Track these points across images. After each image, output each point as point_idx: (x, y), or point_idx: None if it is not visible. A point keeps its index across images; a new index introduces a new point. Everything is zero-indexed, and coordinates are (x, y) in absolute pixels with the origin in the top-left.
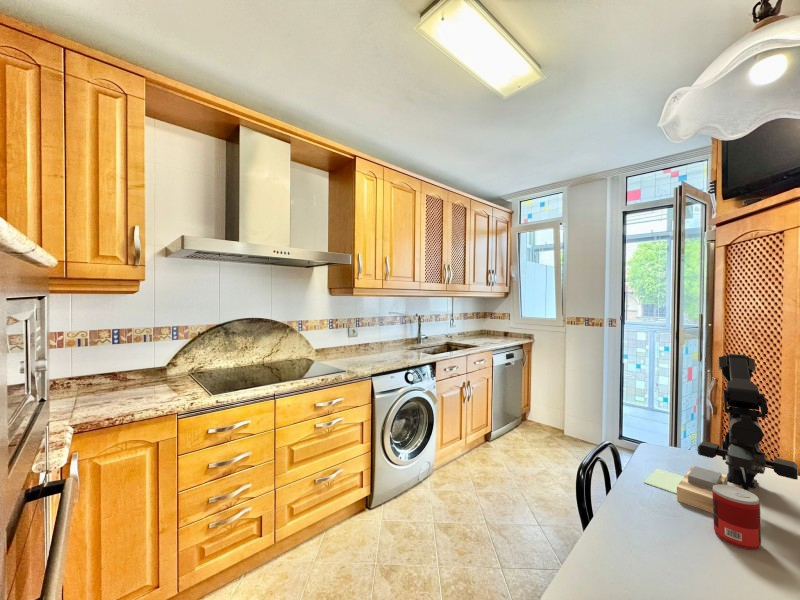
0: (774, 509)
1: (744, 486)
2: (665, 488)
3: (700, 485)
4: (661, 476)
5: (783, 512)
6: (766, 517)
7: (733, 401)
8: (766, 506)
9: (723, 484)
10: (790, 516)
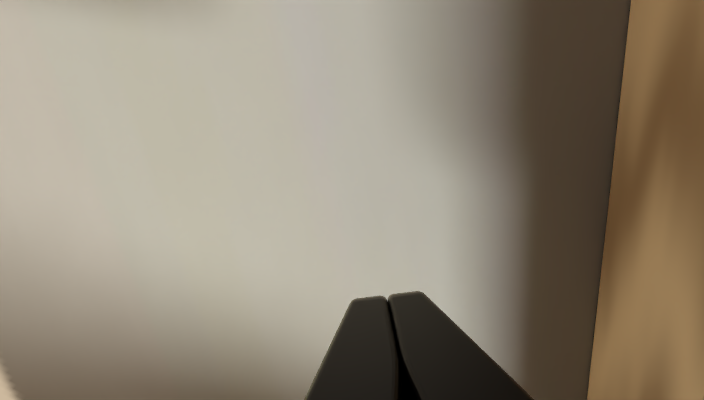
0: (164, 381)
1: (413, 334)
2: None
3: None
4: None
5: (91, 386)
6: (133, 90)
7: None
8: (233, 383)
9: (681, 377)
10: (17, 353)
